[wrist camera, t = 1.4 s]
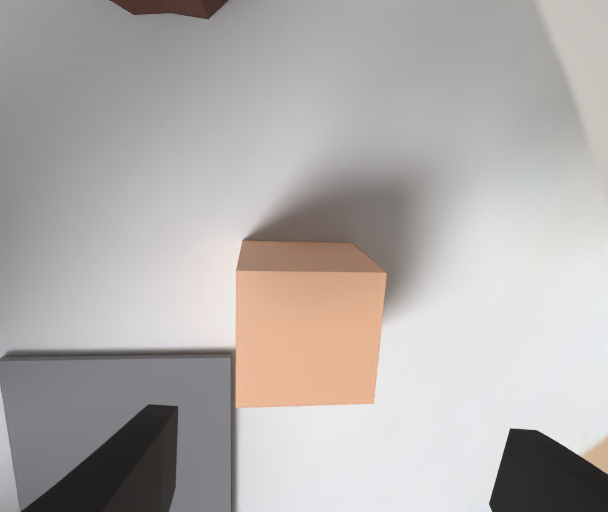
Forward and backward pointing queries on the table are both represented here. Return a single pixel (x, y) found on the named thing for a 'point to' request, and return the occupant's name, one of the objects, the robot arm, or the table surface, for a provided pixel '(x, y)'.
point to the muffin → (172, 7)
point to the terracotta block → (307, 324)
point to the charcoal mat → (118, 417)
